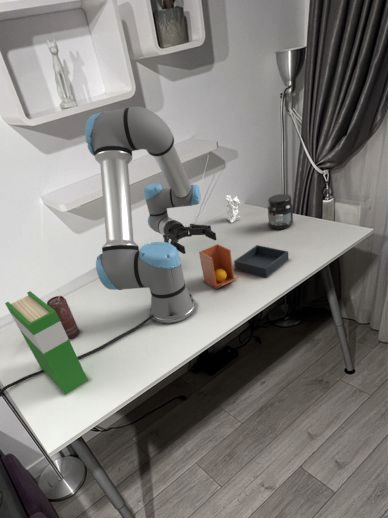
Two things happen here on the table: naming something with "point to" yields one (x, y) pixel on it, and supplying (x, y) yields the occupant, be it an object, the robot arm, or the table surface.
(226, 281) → the orange open box
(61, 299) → the can
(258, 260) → the tray
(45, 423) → the table surface
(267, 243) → the table surface
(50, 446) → the table surface
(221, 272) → the ball
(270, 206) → the supplement container
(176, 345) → the table surface
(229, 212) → the white figurine
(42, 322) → the hardback book
